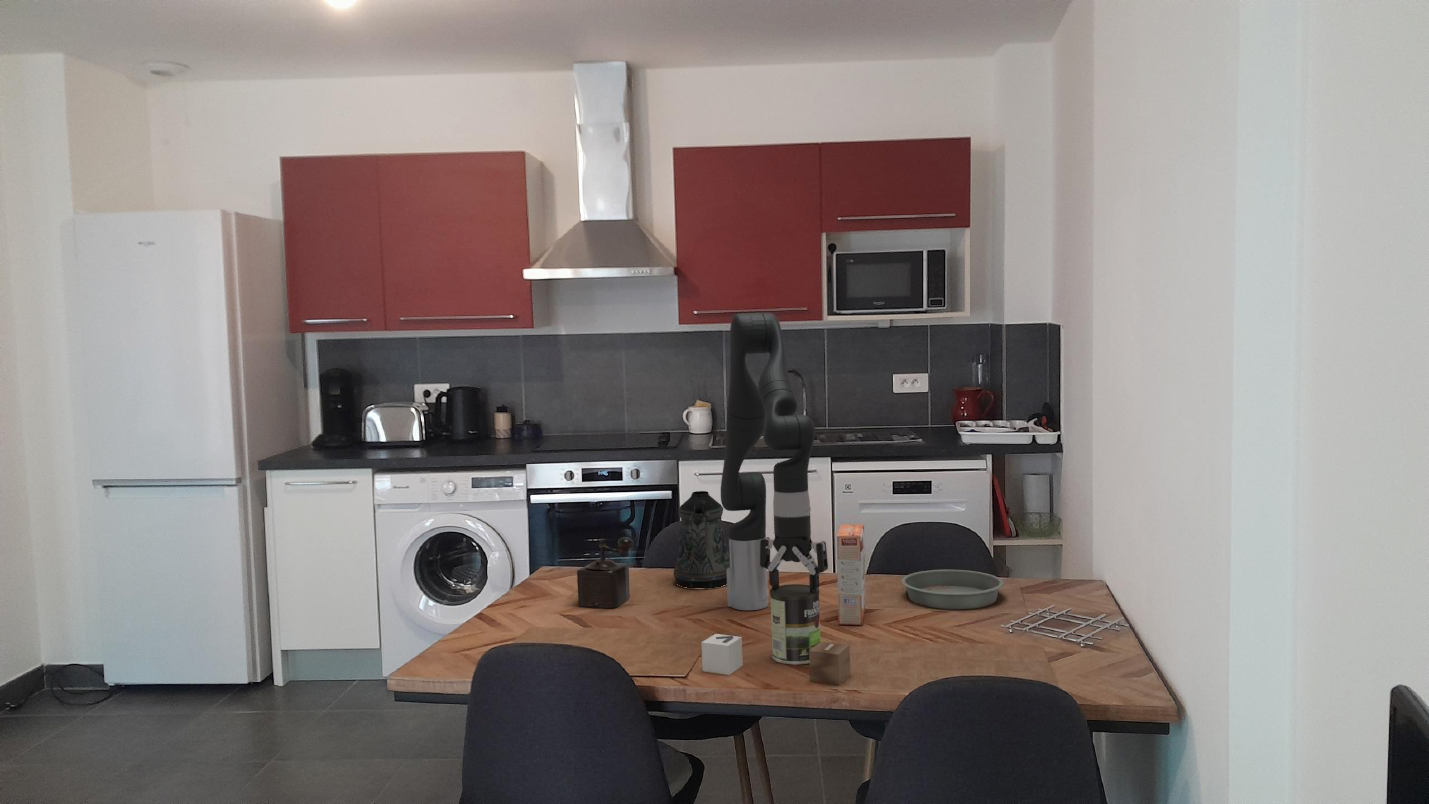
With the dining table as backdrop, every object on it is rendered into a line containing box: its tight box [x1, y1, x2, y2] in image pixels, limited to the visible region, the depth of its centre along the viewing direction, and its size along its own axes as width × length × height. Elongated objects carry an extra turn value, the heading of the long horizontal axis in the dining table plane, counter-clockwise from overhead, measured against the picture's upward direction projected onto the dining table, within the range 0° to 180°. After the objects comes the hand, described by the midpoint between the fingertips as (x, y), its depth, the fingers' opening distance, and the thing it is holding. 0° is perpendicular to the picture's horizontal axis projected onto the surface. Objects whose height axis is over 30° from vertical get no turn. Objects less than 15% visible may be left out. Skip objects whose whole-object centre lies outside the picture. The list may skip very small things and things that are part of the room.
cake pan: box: [901, 569, 1004, 610], centre depth 243 cm, size 25×25×4 cm
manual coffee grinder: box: [576, 536, 634, 609], centre depth 249 cm, size 16×11×18 cm
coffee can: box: [768, 583, 821, 666], centre depth 202 cm, size 10×10×14 cm
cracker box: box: [836, 523, 866, 626], centre depth 228 cm, size 14×6×21 cm, turn 168°
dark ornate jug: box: [672, 490, 730, 589], centre depth 265 cm, size 16×19×25 cm
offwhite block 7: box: [701, 633, 744, 676], centre depth 197 cm, size 6×6×6 cm
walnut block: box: [809, 641, 851, 685], centre depth 189 cm, size 6×6×6 cm
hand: (794, 589), depth 201 cm, fingers open, 8 cm apart
